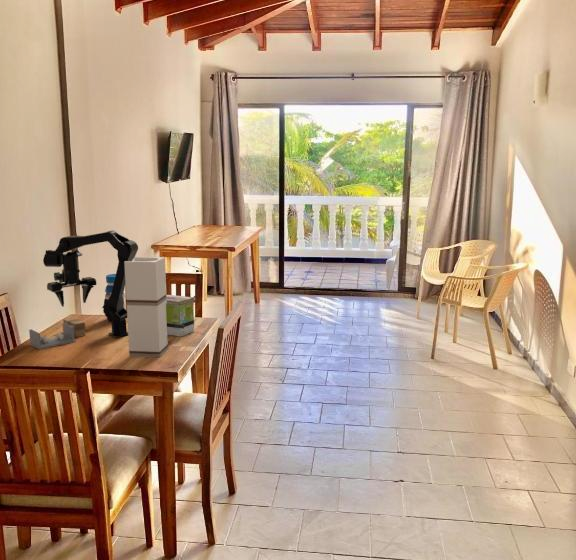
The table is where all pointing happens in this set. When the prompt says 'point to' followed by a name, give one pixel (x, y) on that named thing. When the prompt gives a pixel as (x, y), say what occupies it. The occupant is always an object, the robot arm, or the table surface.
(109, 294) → the beverage bottle
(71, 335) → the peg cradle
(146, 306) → the white banded pillar
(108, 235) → the robot arm
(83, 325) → the brown rectangular block
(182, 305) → the green and white box
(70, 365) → the table surface
